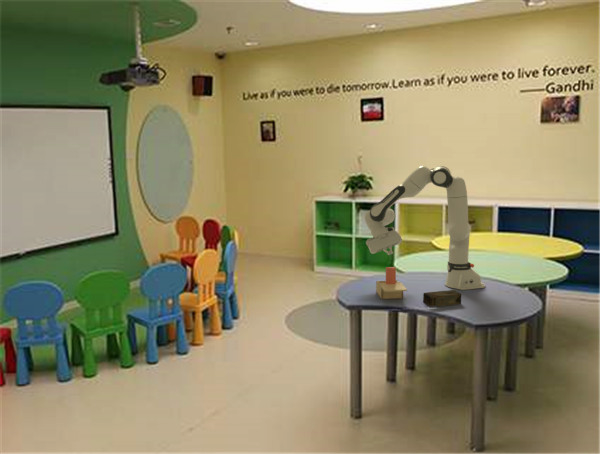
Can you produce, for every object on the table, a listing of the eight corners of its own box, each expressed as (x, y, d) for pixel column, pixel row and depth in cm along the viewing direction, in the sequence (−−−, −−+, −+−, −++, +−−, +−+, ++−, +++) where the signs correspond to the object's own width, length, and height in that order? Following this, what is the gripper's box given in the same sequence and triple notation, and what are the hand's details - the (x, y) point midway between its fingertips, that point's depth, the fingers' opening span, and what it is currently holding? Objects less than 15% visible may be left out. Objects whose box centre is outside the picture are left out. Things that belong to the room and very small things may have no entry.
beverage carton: (461, 304, 295) (462, 292, 294) (429, 308, 290) (429, 296, 289) (453, 300, 303) (454, 288, 302) (422, 303, 298) (422, 292, 296)
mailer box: (376, 292, 318) (376, 280, 316) (397, 292, 318) (397, 280, 317) (381, 300, 304) (381, 288, 303) (403, 299, 305) (403, 287, 303)
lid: (379, 284, 309) (379, 267, 307) (400, 283, 310) (400, 266, 308) (384, 291, 295) (384, 273, 293) (406, 290, 296) (407, 273, 294)
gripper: (364, 238, 329) (374, 257, 323) (396, 226, 332) (406, 245, 326) (364, 243, 335) (374, 262, 328) (395, 231, 338) (405, 250, 331)
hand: (390, 254), depth 327 cm, fingers closed
